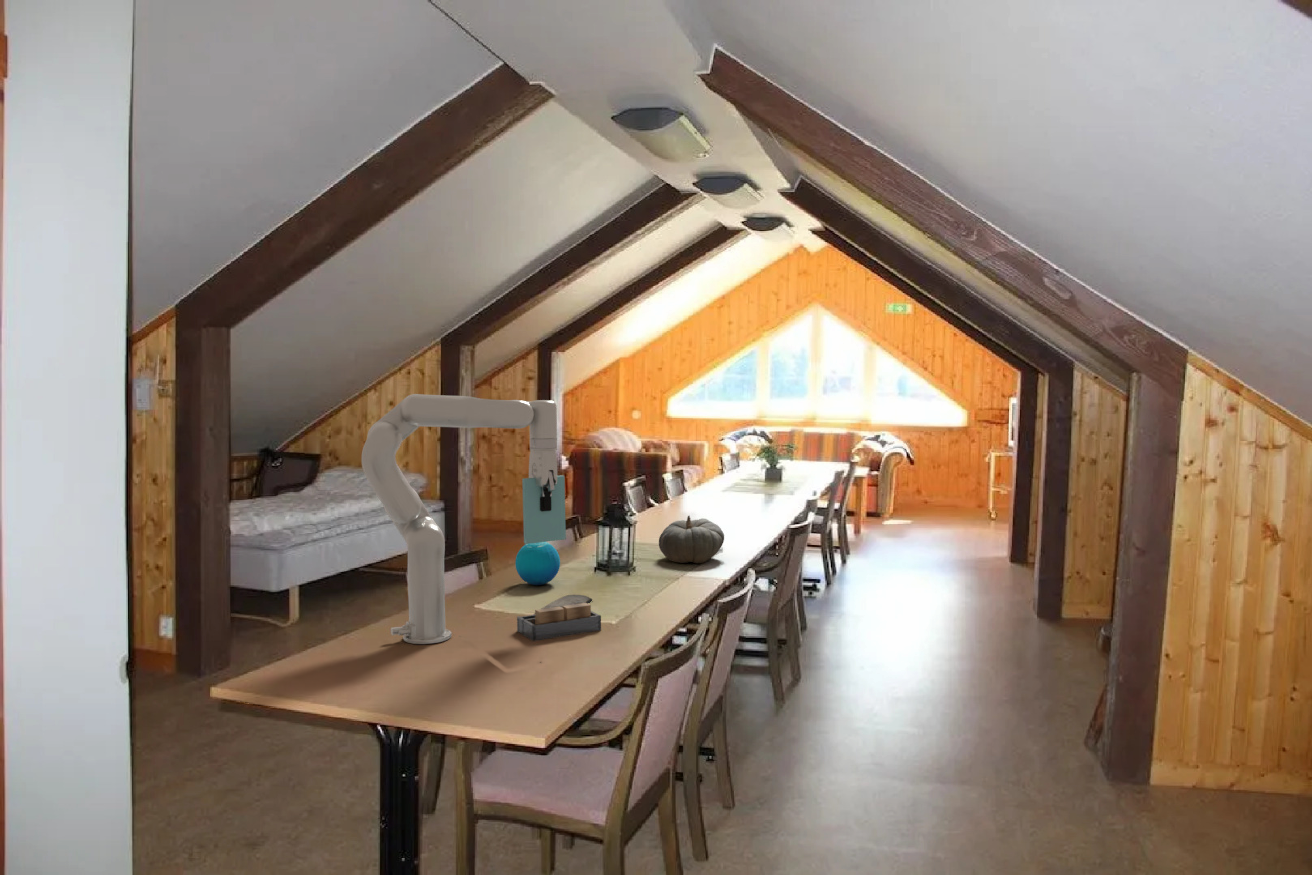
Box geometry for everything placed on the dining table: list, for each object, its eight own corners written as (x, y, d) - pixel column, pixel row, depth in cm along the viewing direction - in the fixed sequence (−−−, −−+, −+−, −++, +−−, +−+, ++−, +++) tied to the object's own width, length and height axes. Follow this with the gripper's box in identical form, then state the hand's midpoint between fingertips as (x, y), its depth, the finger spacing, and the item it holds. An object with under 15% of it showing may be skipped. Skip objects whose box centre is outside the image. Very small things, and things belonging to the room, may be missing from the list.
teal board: (526, 543, 259) (524, 479, 258) (523, 543, 261) (522, 478, 259) (565, 539, 265) (564, 475, 264) (563, 538, 267) (562, 475, 265)
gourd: (721, 546, 371) (718, 504, 367) (730, 569, 347) (726, 525, 343) (658, 553, 370) (654, 511, 366) (663, 577, 346) (658, 533, 342)
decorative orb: (542, 591, 307) (541, 546, 306) (506, 586, 315) (505, 542, 314) (569, 582, 320) (568, 539, 319) (533, 578, 328) (533, 535, 327)
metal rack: (533, 644, 247) (532, 625, 247) (517, 634, 257) (517, 616, 256) (601, 633, 257) (600, 615, 257) (583, 624, 267) (583, 607, 266)
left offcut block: (540, 638, 249) (539, 612, 249) (535, 635, 252) (535, 609, 252) (564, 634, 253) (563, 608, 252) (559, 631, 256) (559, 606, 255)
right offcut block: (567, 634, 253) (567, 608, 253) (562, 631, 256) (562, 606, 256) (590, 630, 257) (590, 605, 257) (586, 627, 260) (585, 602, 259)
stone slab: (595, 594, 294) (558, 615, 266) (596, 605, 295) (558, 626, 266) (565, 593, 297) (524, 613, 269) (565, 603, 298) (525, 624, 269)
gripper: (520, 443, 266) (521, 508, 267) (542, 447, 253) (542, 515, 254) (544, 442, 270) (545, 506, 271) (567, 446, 256) (568, 513, 258)
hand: (544, 510), depth 262 cm, fingers closed on teal board, 1 cm apart
